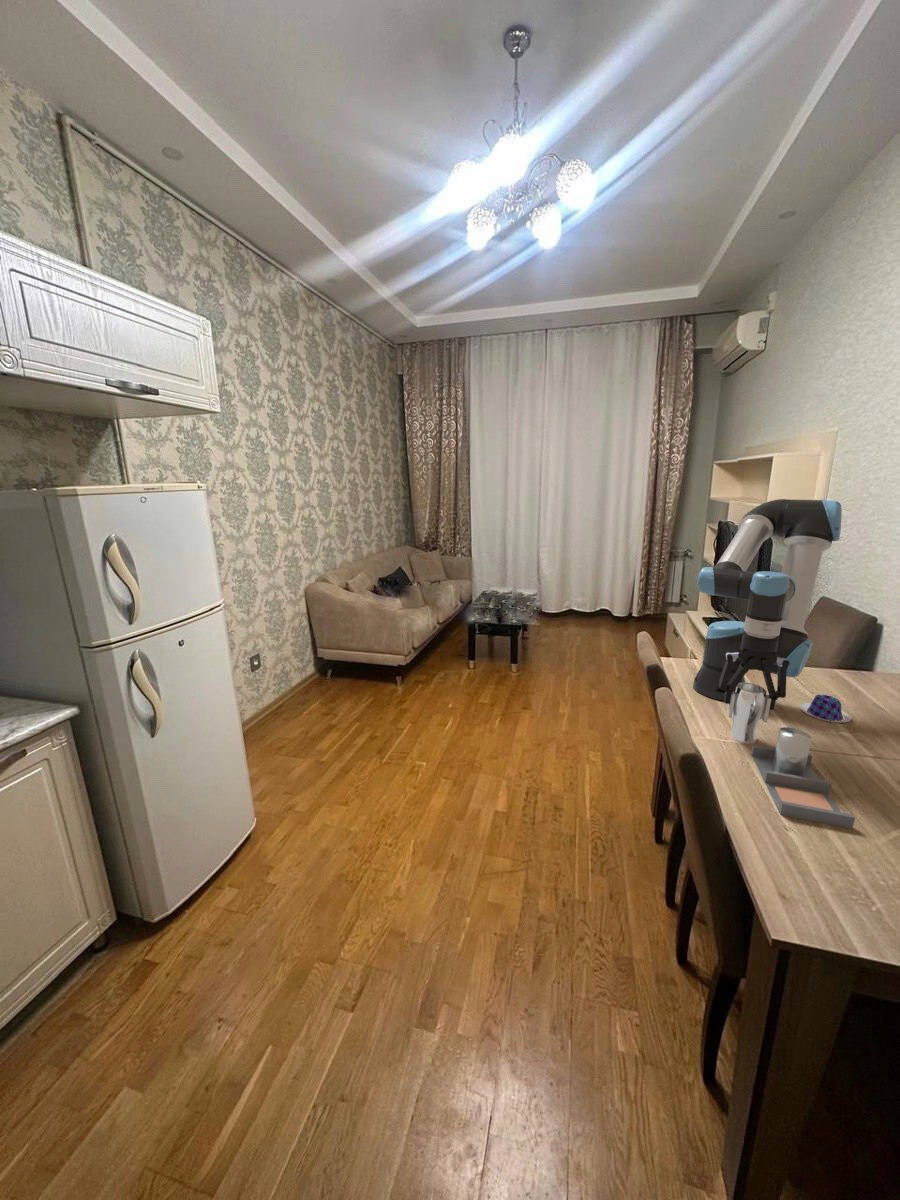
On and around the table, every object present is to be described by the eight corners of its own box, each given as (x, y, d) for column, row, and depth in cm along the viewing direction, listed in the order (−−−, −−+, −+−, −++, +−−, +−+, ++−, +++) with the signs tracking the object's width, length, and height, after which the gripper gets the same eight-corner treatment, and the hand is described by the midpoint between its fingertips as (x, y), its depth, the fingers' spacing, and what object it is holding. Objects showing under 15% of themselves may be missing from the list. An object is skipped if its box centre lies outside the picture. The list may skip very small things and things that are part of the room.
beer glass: (721, 736, 125) (729, 684, 121) (738, 730, 128) (747, 680, 124) (746, 749, 119) (755, 695, 115) (764, 743, 122) (774, 690, 118)
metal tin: (765, 768, 110) (773, 730, 107) (783, 762, 112) (791, 725, 109) (791, 783, 104) (800, 743, 102) (809, 777, 106) (818, 738, 104)
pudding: (861, 726, 131) (865, 709, 130) (814, 723, 132) (818, 706, 131) (833, 706, 142) (836, 690, 141) (790, 703, 144) (793, 688, 143)
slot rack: (750, 756, 116) (752, 744, 115) (808, 766, 112) (810, 754, 111) (779, 817, 95) (782, 803, 94) (851, 832, 91) (855, 817, 90)
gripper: (718, 634, 116) (705, 717, 122) (814, 643, 109) (796, 731, 115) (712, 625, 123) (700, 705, 128) (803, 633, 116) (786, 717, 122)
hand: (746, 717), depth 122 cm, fingers open, 7 cm apart
